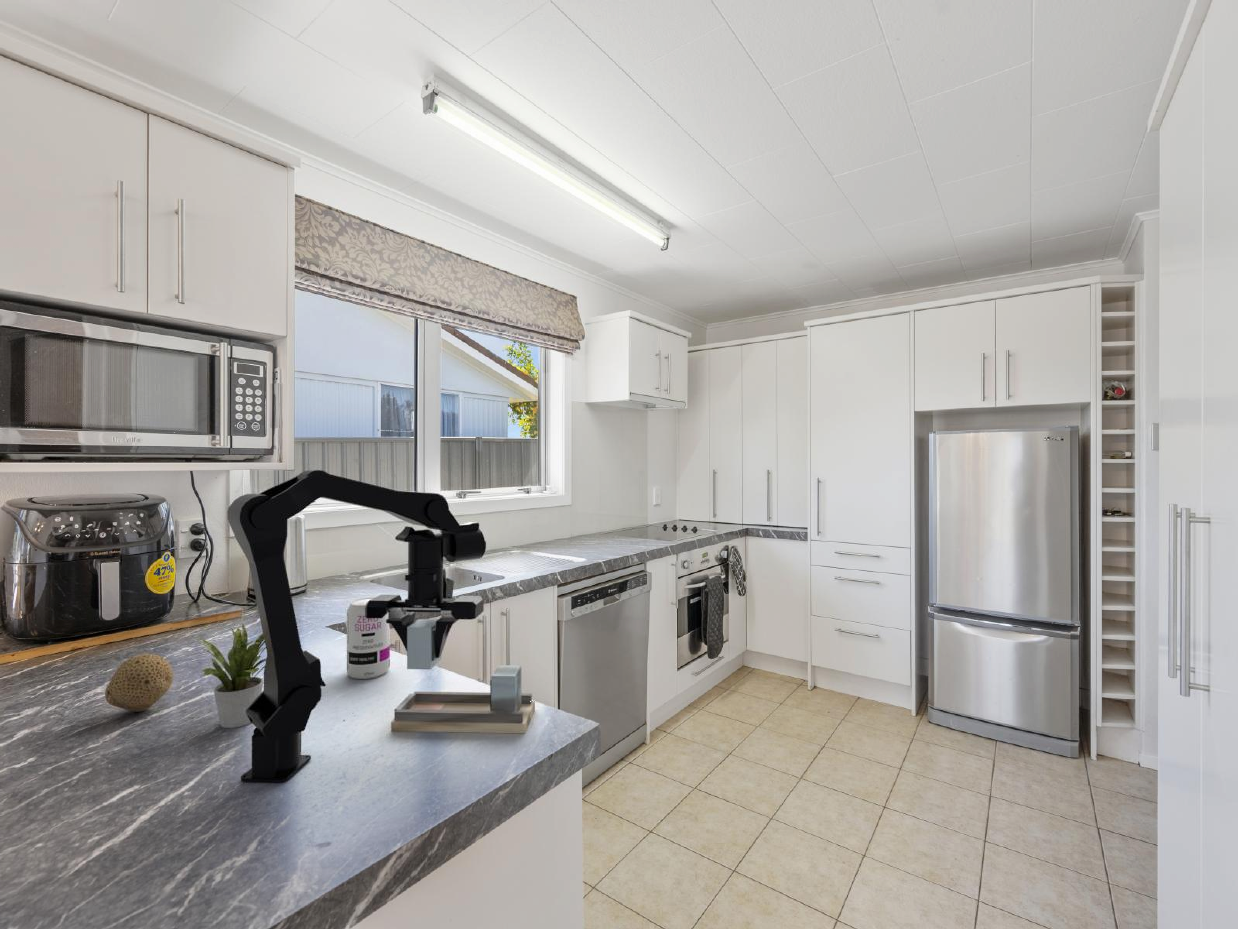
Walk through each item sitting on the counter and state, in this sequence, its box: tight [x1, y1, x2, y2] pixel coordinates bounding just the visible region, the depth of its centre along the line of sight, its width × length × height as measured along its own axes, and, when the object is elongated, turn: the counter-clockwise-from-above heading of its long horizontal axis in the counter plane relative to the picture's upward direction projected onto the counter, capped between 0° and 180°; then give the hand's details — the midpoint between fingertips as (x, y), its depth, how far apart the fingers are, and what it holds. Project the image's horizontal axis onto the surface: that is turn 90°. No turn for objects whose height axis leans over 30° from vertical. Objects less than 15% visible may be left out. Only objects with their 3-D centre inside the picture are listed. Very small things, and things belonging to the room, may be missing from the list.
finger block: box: [406, 618, 442, 670], centre depth 98 cm, size 5×4×7 cm
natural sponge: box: [104, 653, 174, 713], centre depth 101 cm, size 9×9×10 cm
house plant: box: [194, 622, 267, 729], centre depth 97 cm, size 14×14×16 cm
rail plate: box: [390, 664, 536, 734], centre depth 98 cm, size 9×22×8 cm, turn 88°
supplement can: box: [346, 597, 391, 680], centre depth 120 cm, size 8×8×15 cm
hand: (425, 657), depth 98 cm, fingers closed on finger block, 4 cm apart
